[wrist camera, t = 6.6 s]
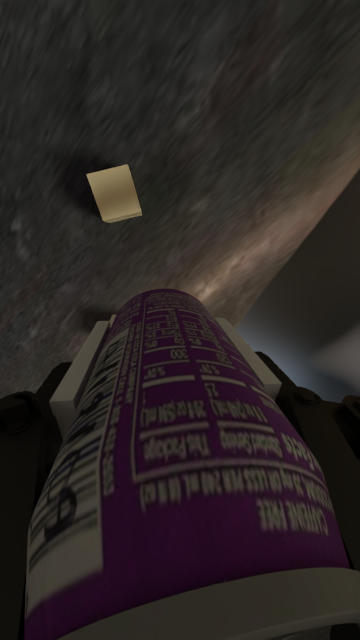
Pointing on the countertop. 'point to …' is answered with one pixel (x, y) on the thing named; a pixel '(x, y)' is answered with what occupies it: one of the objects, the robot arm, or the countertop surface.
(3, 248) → the countertop surface
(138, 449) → the beverage can
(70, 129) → the countertop surface
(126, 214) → the beech cube
